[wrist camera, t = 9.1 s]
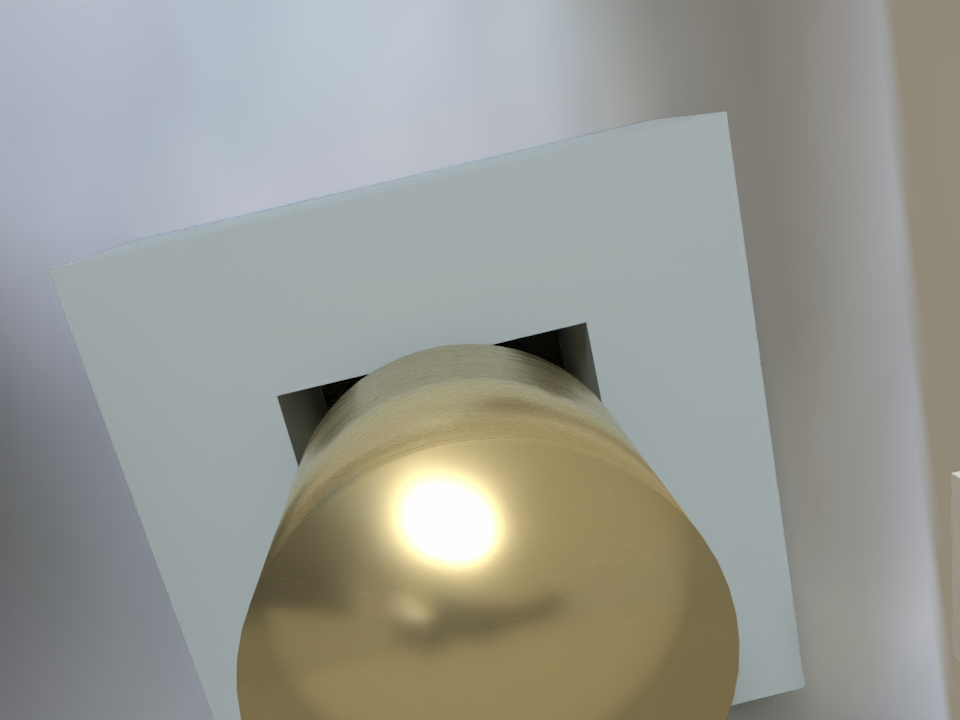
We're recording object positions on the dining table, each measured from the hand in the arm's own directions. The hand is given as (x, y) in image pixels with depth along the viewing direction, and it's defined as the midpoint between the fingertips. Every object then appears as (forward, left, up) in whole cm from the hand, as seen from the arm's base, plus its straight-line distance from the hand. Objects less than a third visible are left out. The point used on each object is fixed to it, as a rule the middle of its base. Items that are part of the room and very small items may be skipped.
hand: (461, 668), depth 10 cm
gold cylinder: (0, 0, -10) cm, 10 cm away
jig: (0, 0, -10) cm, 10 cm away
